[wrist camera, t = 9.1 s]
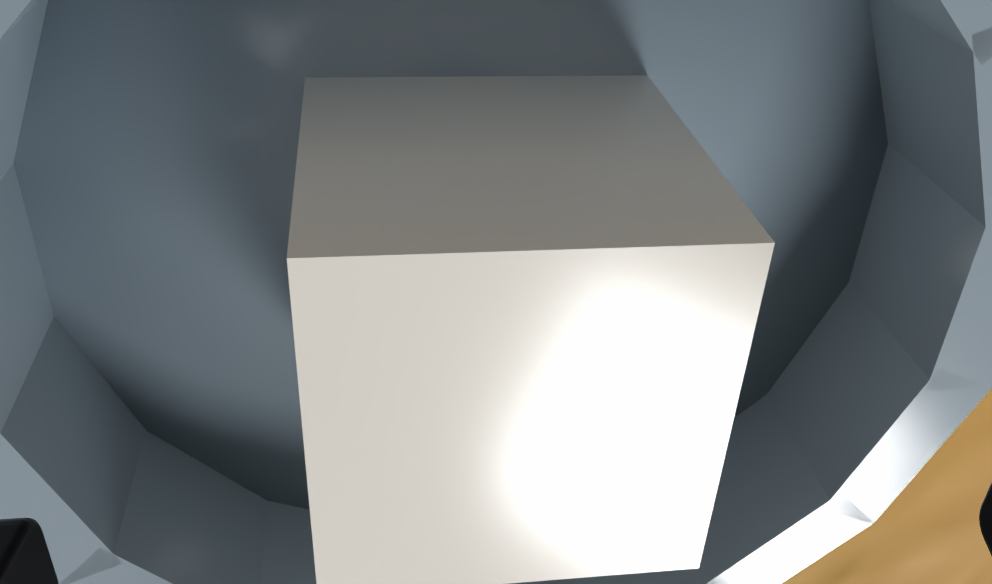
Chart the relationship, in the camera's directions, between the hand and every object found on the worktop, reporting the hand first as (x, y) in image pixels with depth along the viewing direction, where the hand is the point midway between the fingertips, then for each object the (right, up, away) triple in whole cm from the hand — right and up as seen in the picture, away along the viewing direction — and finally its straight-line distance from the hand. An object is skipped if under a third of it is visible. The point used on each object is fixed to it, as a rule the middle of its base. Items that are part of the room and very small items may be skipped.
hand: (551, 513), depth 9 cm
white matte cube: (-1, +3, +5) cm, 6 cm away
